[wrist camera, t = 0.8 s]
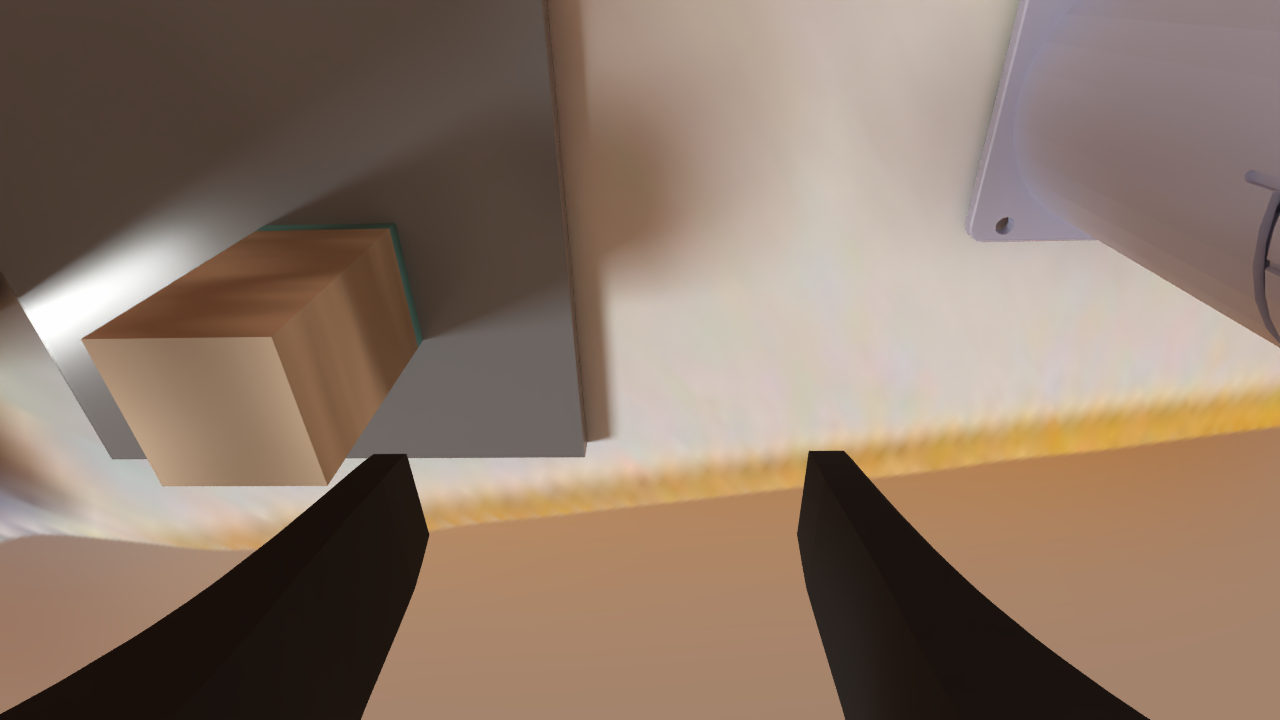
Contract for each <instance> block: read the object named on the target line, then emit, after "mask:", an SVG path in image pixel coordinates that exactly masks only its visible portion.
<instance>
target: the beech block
mask: <svg viewBox="0 0 1280 720" xmlns="http://www.w3.org/2000/svg"><path fill="white" fill-rule="evenodd" d="M81 340H82V342H83V344H84V346H85V348H86V349H87V351H88V353H89V355H90V357H91V358H92V360H93V362H94V364H95V366H96V367H97V369H98V371H99V373H100V375H101V376H102V378H103V380H104V382H105V384H106V385H107V387H108V389H109V391H110V393H111V394H112V396H113V398H114V400H115V402H116V403H117V405H118V407H119V409H120V411H121V412H122V414H123V416H124V418H125V420H126V421H127V423H128V425H129V427H130V429H131V430H132V432H133V434H134V436H135V438H136V439H137V441H138V443H139V445H140V447H141V448H142V450H143V452H144V454H145V456H146V457H147V459H148V461H149V463H150V465H151V466H152V468H153V470H154V472H155V474H156V475H157V477H158V479H159V481H160V483H161V484H162V486H328V484H329V483H330V481H331V480H332V478H333V477H334V475H335V473H336V472H337V470H338V469H339V467H340V466H341V464H342V463H343V461H344V460H345V458H346V457H347V455H348V454H349V452H350V451H351V449H352V448H353V446H354V445H355V443H356V442H357V440H358V439H359V437H360V435H361V434H362V432H363V431H364V429H365V428H366V426H367V425H368V423H369V422H370V420H371V419H372V417H373V416H374V414H375V413H376V411H377V410H378V408H379V407H380V405H381V404H382V402H383V401H384V399H385V397H386V396H387V394H388V393H389V391H390V390H391V388H392V387H393V385H394V384H395V382H396V381H397V379H398V378H399V376H400V375H401V373H402V372H403V370H404V369H405V367H406V366H407V364H408V363H409V361H410V359H411V358H412V356H413V355H414V353H415V352H416V350H417V349H418V347H419V346H420V344H421V343H422V341H423V338H422V333H421V329H420V325H419V321H418V316H417V312H416V308H415V304H414V299H413V295H412V291H411V287H410V282H409V278H408V274H407V270H406V265H405V261H404V257H403V253H402V248H401V244H400V240H399V236H398V231H397V227H396V223H370V224H316V225H264V226H263V227H261V228H259V229H258V230H256V231H255V232H253V233H251V234H250V235H248V236H247V237H245V238H243V239H242V240H240V241H238V242H237V243H235V244H234V245H232V246H230V247H229V248H227V249H226V250H224V251H222V252H221V253H219V254H217V255H216V256H214V257H213V258H211V259H209V260H208V261H206V262H205V263H203V264H201V265H200V266H198V267H196V268H195V269H193V270H192V271H190V272H188V273H187V274H185V275H184V276H182V277H180V278H179V279H177V280H176V281H174V282H172V283H171V284H169V285H167V286H166V287H164V288H163V289H161V290H159V291H158V292H156V293H155V294H153V295H151V296H150V297H148V298H146V299H145V300H143V301H142V302H140V303H138V304H137V305H135V306H134V307H132V308H130V309H129V310H127V311H125V312H124V313H122V314H121V315H119V316H117V317H116V318H114V319H113V320H111V321H109V322H108V323H106V324H105V325H103V326H101V327H100V328H98V329H96V330H95V331H93V332H92V333H90V334H88V335H87V336H85V337H84V338H82V339H81Z"/></svg>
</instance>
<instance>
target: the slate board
mask: <svg viewBox="0 0 1280 720" xmlns="http://www.w3.org/2000/svg"><path fill="white" fill-rule="evenodd" d="M370 223H396V227H397V231H398V236H399V240H400V244H401V248H402V253H403V257H404V261H405V265H406V270H407V274H408V278H409V282H410V287H411V291H412V295H413V299H414V304H415V308H416V312H417V316H418V321H419V325H420V329H421V333H422V338H423V341H422V343H421V344H420V346H419V347H418V349H417V350H416V352H415V353H414V355H413V356H412V358H411V359H410V361H409V363H408V364H407V366H406V367H405V369H404V370H403V372H402V373H401V375H400V376H399V378H398V379H397V381H396V382H395V384H394V385H393V387H392V388H391V390H390V391H389V393H388V394H387V396H386V397H385V399H384V401H383V402H382V404H381V405H380V407H379V408H378V410H377V411H376V413H375V414H374V416H373V417H372V419H371V420H370V422H369V423H368V425H367V426H366V428H365V429H364V431H363V432H362V434H361V435H360V437H359V439H358V440H357V442H356V443H355V445H354V446H353V448H352V449H351V451H350V452H349V454H348V455H347V457H346V458H369V457H370V456H372V455H373V454H407V457H408V458H504V457H585V453H586V447H587V438H586V427H585V416H584V405H583V394H582V382H581V371H580V360H579V349H578V338H577V327H576V316H575V305H574V294H573V283H572V272H571V261H570V250H569V239H568V228H567V217H566V206H565V195H564V184H563V173H562V162H561V151H560V140H559V129H558V118H557V107H556V96H555V84H554V73H553V62H552V51H551V40H550V29H549V18H548V7H547V0H0V271H1V273H2V275H3V276H4V278H5V280H6V281H7V283H8V285H9V286H10V288H11V290H12V291H13V293H14V295H15V296H16V298H17V300H18V301H19V303H20V305H21V307H22V308H23V310H24V312H25V313H26V315H27V317H28V318H29V320H30V322H31V323H32V325H33V327H34V328H35V330H36V332H37V334H38V335H39V337H40V339H41V340H42V342H43V344H44V345H45V347H46V349H47V350H48V352H49V354H50V355H51V357H52V359H53V360H54V362H55V364H56V366H57V367H58V369H59V371H60V372H61V374H62V376H63V377H64V379H65V381H66V382H67V384H68V386H69V387H70V389H71V391H72V393H73V394H74V396H75V398H76V399H77V401H78V403H79V404H80V406H81V408H82V409H83V411H84V413H85V414H86V416H87V418H88V419H89V421H90V423H91V425H92V426H93V428H94V430H95V431H96V433H97V435H98V436H99V438H100V440H101V441H102V443H103V445H104V446H105V448H106V450H107V452H108V453H109V455H110V457H111V458H112V459H147V457H146V456H145V454H144V452H143V450H142V448H141V447H140V445H139V443H138V441H137V439H136V438H135V436H134V434H133V432H132V430H131V429H130V427H129V425H128V423H127V421H126V420H125V418H124V416H123V414H122V412H121V411H120V409H119V407H118V405H117V403H116V402H115V400H114V398H113V396H112V394H111V393H110V391H109V389H108V387H107V385H106V384H105V382H104V380H103V378H102V376H101V375H100V373H99V371H98V369H97V367H96V366H95V364H94V362H93V360H92V358H91V357H90V355H89V353H88V351H87V349H86V348H85V346H84V344H83V342H82V340H81V339H82V338H84V337H85V336H87V335H88V334H90V333H92V332H93V331H95V330H96V329H98V328H100V327H101V326H103V325H105V324H106V323H108V322H109V321H111V320H113V319H114V318H116V317H117V316H119V315H121V314H122V313H124V312H125V311H127V310H129V309H130V308H132V307H134V306H135V305H137V304H138V303H140V302H142V301H143V300H145V299H146V298H148V297H150V296H151V295H153V294H155V293H156V292H158V291H159V290H161V289H163V288H164V287H166V286H167V285H169V284H171V283H172V282H174V281H176V280H177V279H179V278H180V277H182V276H184V275H185V274H187V273H188V272H190V271H192V270H193V269H195V268H196V267H198V266H200V265H201V264H203V263H205V262H206V261H208V260H209V259H211V258H213V257H214V256H216V255H217V254H219V253H221V252H222V251H224V250H226V249H227V248H229V247H230V246H232V245H234V244H235V243H237V242H238V241H240V240H242V239H243V238H245V237H247V236H248V235H250V234H251V233H253V232H255V231H256V230H258V229H259V228H261V227H263V226H264V225H316V224H370Z"/></svg>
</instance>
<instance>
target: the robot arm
mask: <svg viewBox="0 0 1280 720" xmlns="http://www.w3.org/2000/svg"><path fill="white" fill-rule="evenodd" d="M1006 217H1008V222H1007V224H1006V226H1005V227H1003V228H1002V229H999V230H996V225H997V223H998V221H1000V220H1001V219H1002V218H1006ZM965 230H966V232H967V234H968V235H969V236H971V237H972V238H973V239H975V240H976V241H980V242H1009V241H1068V240H1099V241H1101V242H1102V243H1104V244H1106V245H1107V246H1109V247H1111V248H1112V249H1114V250H1116V251H1117V252H1119V253H1121V254H1122V255H1124V256H1126V257H1128V258H1129V259H1131V260H1133V261H1134V262H1136V263H1138V264H1139V265H1141V266H1143V267H1144V268H1146V269H1148V270H1149V271H1151V272H1153V273H1155V274H1156V275H1158V276H1160V277H1161V278H1163V279H1165V280H1166V281H1168V282H1170V283H1171V284H1173V285H1175V286H1176V287H1178V288H1180V289H1182V290H1183V291H1185V292H1187V293H1188V294H1190V295H1192V296H1193V297H1195V298H1197V299H1198V300H1200V301H1202V302H1203V303H1205V304H1207V305H1209V306H1210V307H1212V308H1214V309H1215V310H1217V311H1219V312H1220V313H1222V314H1224V315H1225V316H1227V317H1229V318H1230V319H1232V320H1234V321H1236V322H1237V323H1239V324H1241V325H1242V326H1244V327H1246V328H1247V329H1249V330H1251V331H1252V332H1254V333H1256V334H1257V335H1259V336H1261V337H1263V338H1264V339H1266V340H1268V341H1269V342H1271V343H1273V344H1274V345H1276V346H1278V347H1279V348H1280V0H1020V3H1019V7H1018V11H1017V15H1016V19H1015V23H1014V27H1013V31H1012V35H1011V39H1010V43H1009V47H1008V51H1007V55H1006V60H1005V64H1004V68H1003V72H1002V76H1001V80H1000V84H999V88H998V92H997V96H996V100H995V104H994V108H993V112H992V117H991V121H990V125H989V129H988V133H987V137H986V141H985V145H984V149H983V153H982V157H981V161H980V165H979V169H978V173H977V178H976V182H975V186H974V190H973V194H972V198H971V202H970V206H969V210H968V214H967V218H966V222H965ZM797 536H798V542H799V549H800V555H801V561H802V566H803V572H804V577H805V583H806V588H807V592H808V595H809V599H810V602H811V605H812V609H813V612H814V616H815V619H816V622H817V626H818V629H819V633H820V636H821V639H822V643H823V646H824V649H825V653H826V656H827V659H828V663H829V666H830V669H831V673H832V676H833V679H834V683H835V686H836V689H837V693H838V696H839V699H840V703H841V706H842V709H843V713H844V716H845V720H1150V719H1148V718H1147V717H1145V716H1144V715H1142V714H1141V713H1139V712H1137V711H1136V710H1135V709H1133V708H1132V707H1130V706H1129V705H1127V704H1126V703H1124V702H1123V701H1121V700H1120V699H1118V698H1117V697H1115V696H1114V695H1112V694H1111V693H1110V692H1108V691H1107V690H1105V689H1104V688H1102V687H1101V686H1100V685H1098V684H1097V683H1096V682H1094V681H1093V680H1091V679H1090V678H1089V677H1087V676H1086V675H1084V674H1083V673H1082V672H1080V671H1079V670H1078V669H1076V668H1075V667H1073V666H1072V665H1071V664H1069V663H1068V662H1066V661H1065V660H1064V659H1062V658H1061V657H1060V656H1058V655H1057V654H1056V653H1054V652H1053V651H1052V650H1050V649H1049V648H1048V647H1046V646H1045V645H1044V644H1043V643H1041V642H1040V641H1039V640H1037V639H1036V638H1035V637H1033V636H1032V635H1031V634H1030V633H1028V632H1027V631H1026V630H1025V629H1024V628H1022V627H1021V626H1020V625H1019V624H1017V623H1016V622H1015V621H1014V620H1013V619H1011V618H1010V617H1009V616H1008V615H1006V614H1005V613H1004V612H1003V611H1002V610H1000V609H999V608H998V607H997V606H996V605H994V604H993V603H992V602H991V601H990V600H988V599H987V598H986V597H985V596H984V595H983V594H981V593H980V592H979V591H978V590H977V589H976V588H975V587H974V586H973V585H971V584H970V583H969V582H968V581H967V580H966V579H965V578H964V577H963V576H962V575H961V574H959V572H958V571H956V570H955V569H954V568H953V567H952V566H951V565H950V564H949V563H948V562H947V561H946V560H945V559H944V558H943V557H942V556H941V555H940V554H939V553H938V552H937V551H936V550H935V549H933V547H932V546H931V545H930V544H929V543H928V542H927V541H926V540H925V539H924V538H923V537H922V536H921V535H920V534H919V533H918V532H917V531H916V530H915V529H914V528H913V527H912V525H911V524H910V523H909V522H908V521H907V520H906V519H905V518H904V517H903V516H902V515H901V514H900V513H899V512H898V511H897V510H896V508H895V507H894V506H893V505H892V504H891V503H890V502H889V501H888V500H887V499H886V497H885V496H884V495H883V494H882V493H881V492H880V491H879V490H878V489H877V488H876V486H875V485H874V484H873V483H872V482H871V481H870V479H869V478H868V477H867V476H866V475H865V474H864V473H863V471H862V470H861V469H860V468H859V467H858V466H857V465H856V463H855V462H854V461H853V460H852V459H851V458H850V457H849V456H848V455H847V454H846V452H845V451H809V454H808V461H807V468H806V475H805V482H804V489H803V497H802V504H801V511H800V518H799V525H798V532H797ZM428 538H429V532H428V529H427V525H426V522H425V518H424V514H423V511H422V507H421V504H420V500H419V496H418V493H417V489H416V486H415V482H414V479H413V475H412V471H411V468H410V464H409V461H408V457H407V454H373V455H372V456H370V457H369V458H368V459H366V460H365V461H364V462H363V463H361V464H360V465H359V466H358V467H357V468H355V469H354V470H353V471H352V472H351V473H349V474H348V475H347V476H346V477H345V478H343V479H342V480H341V481H340V482H339V483H338V484H336V485H335V486H334V487H333V488H332V489H331V490H329V491H328V492H327V493H326V494H325V495H324V496H322V497H321V498H320V499H319V500H318V501H317V502H315V503H314V504H313V505H312V506H311V507H309V508H308V509H307V510H306V511H305V512H303V513H302V514H301V515H300V516H299V517H297V518H296V519H295V520H294V521H293V522H291V523H290V524H289V525H288V526H287V527H285V528H284V529H283V530H282V531H281V532H279V533H278V534H277V535H276V536H274V537H273V538H272V539H271V540H269V541H268V542H267V543H265V544H264V545H263V546H262V547H260V548H259V549H258V550H256V551H255V552H254V553H252V554H251V555H250V556H249V557H247V558H246V559H245V560H243V561H242V562H241V563H240V564H238V565H237V566H236V567H234V568H233V569H232V570H231V571H229V572H228V573H227V574H225V575H224V576H223V577H222V578H220V579H219V580H217V581H216V582H215V583H213V584H212V585H211V586H210V587H208V588H206V589H205V590H204V591H202V592H201V593H199V594H198V595H197V596H195V597H194V598H192V599H191V600H190V601H188V602H187V603H185V604H184V605H182V606H181V607H179V608H178V609H176V610H175V611H173V612H172V613H170V614H169V615H167V616H166V617H164V618H163V619H161V620H160V621H158V622H157V623H155V624H154V625H152V626H151V627H149V628H148V629H146V630H144V631H143V632H141V633H140V634H138V635H137V636H135V637H133V638H132V639H130V640H129V641H127V642H125V643H123V644H122V645H120V646H118V647H117V648H115V649H113V650H112V651H110V652H108V653H107V654H105V655H103V656H102V657H100V658H98V659H97V660H95V661H94V662H92V663H90V664H88V665H87V666H85V667H84V668H82V669H80V670H78V671H77V672H75V673H73V674H72V675H70V676H68V677H67V678H65V679H63V680H62V681H60V682H58V683H56V684H55V685H53V686H51V687H49V688H47V689H46V690H44V691H42V692H40V693H38V694H37V695H35V696H33V697H31V698H29V699H27V700H26V701H24V702H22V703H20V704H19V705H17V706H15V707H13V708H11V709H9V710H7V711H5V712H3V713H2V714H0V720H361V718H362V715H363V712H364V710H365V707H366V705H367V703H368V700H369V697H370V695H371V693H372V690H373V688H374V686H375V683H376V681H377V679H378V676H379V674H380V672H381V669H382V667H383V664H384V662H385V660H386V657H387V655H388V652H389V650H390V648H391V645H392V643H393V641H394V638H395V636H396V633H397V631H398V629H399V626H400V624H401V621H402V619H403V616H404V614H405V612H406V609H407V607H408V604H409V602H410V599H411V597H412V594H413V592H414V589H415V586H416V583H417V579H418V576H419V572H420V568H421V565H422V562H423V558H424V554H425V550H426V546H427V542H428Z"/></svg>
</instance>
